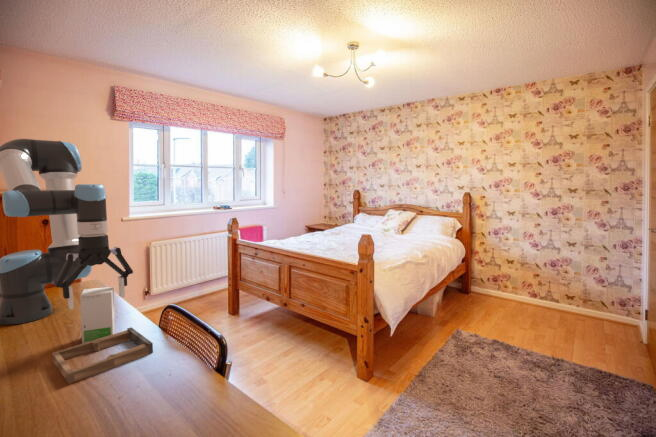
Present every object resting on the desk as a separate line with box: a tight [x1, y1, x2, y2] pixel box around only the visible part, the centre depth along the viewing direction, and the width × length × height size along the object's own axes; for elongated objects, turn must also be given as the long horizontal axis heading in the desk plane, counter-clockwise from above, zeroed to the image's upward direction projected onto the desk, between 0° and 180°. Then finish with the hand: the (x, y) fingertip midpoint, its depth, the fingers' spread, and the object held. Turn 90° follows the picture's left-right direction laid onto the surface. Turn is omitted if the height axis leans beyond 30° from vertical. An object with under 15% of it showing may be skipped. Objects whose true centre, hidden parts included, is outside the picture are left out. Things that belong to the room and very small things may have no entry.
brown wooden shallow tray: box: [51, 326, 154, 385], centre depth 95 cm, size 15×20×3 cm
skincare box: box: [80, 286, 116, 344], centre depth 105 cm, size 8×7×16 cm
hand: (97, 302), depth 104 cm, fingers open, 13 cm apart
